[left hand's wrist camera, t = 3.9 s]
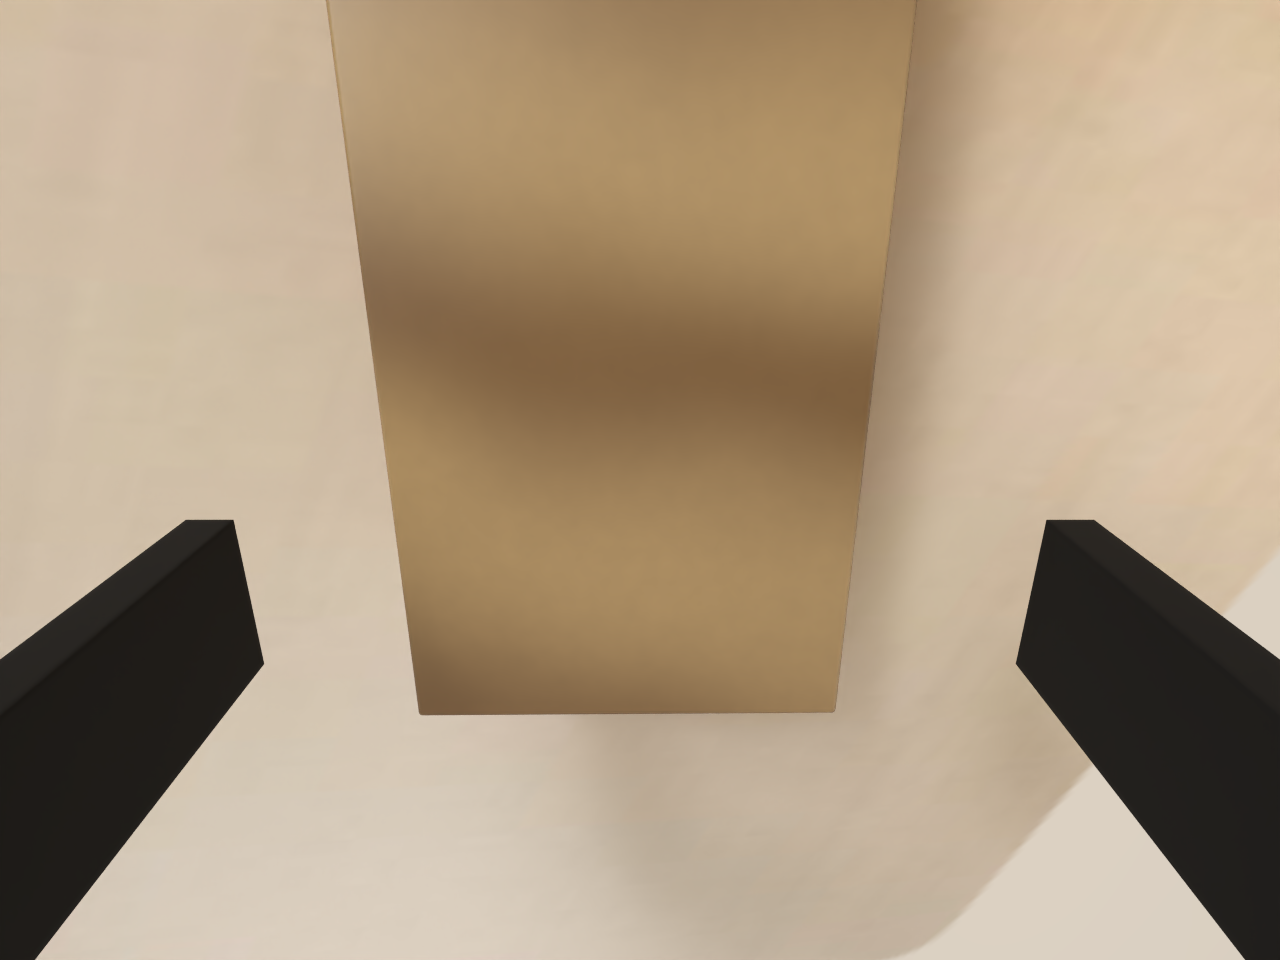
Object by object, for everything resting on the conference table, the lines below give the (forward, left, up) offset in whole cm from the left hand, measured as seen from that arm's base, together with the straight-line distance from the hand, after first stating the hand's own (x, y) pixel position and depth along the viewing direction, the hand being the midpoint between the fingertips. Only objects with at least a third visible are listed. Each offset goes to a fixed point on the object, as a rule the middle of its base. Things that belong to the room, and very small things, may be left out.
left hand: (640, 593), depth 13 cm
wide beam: (+11, +20, -10) cm, 25 cm away
